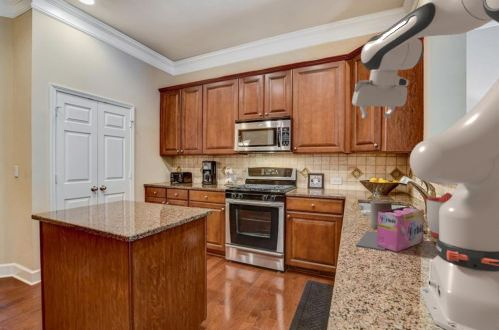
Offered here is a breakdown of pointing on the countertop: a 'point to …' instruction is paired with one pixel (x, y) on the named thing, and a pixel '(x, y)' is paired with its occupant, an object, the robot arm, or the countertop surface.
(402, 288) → the countertop surface
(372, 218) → the pillar candle
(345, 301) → the countertop surface
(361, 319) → the countertop surface
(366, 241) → the mat
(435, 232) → the citrus juicer
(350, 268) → the countertop surface
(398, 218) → the gum box
